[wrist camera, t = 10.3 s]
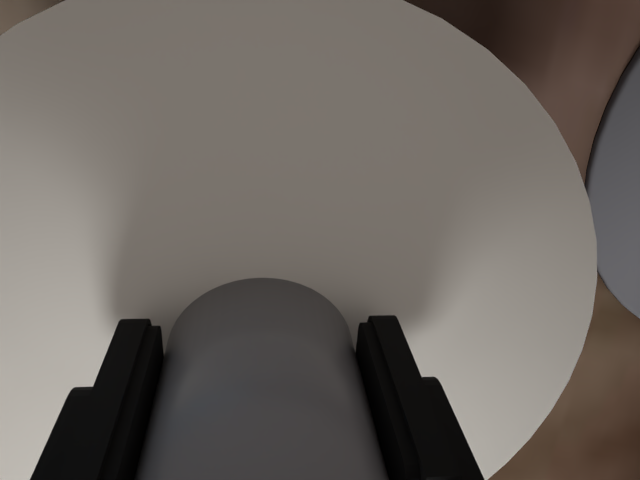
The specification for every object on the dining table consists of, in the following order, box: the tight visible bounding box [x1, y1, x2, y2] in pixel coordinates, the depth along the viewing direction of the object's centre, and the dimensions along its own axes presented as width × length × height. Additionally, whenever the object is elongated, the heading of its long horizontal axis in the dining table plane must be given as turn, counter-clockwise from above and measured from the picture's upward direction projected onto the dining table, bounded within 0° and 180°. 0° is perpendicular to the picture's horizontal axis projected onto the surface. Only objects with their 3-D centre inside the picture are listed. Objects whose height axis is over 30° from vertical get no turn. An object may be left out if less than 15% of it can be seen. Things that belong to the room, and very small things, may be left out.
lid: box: [0, 0, 597, 480], centre depth 9 cm, size 15×15×6 cm
